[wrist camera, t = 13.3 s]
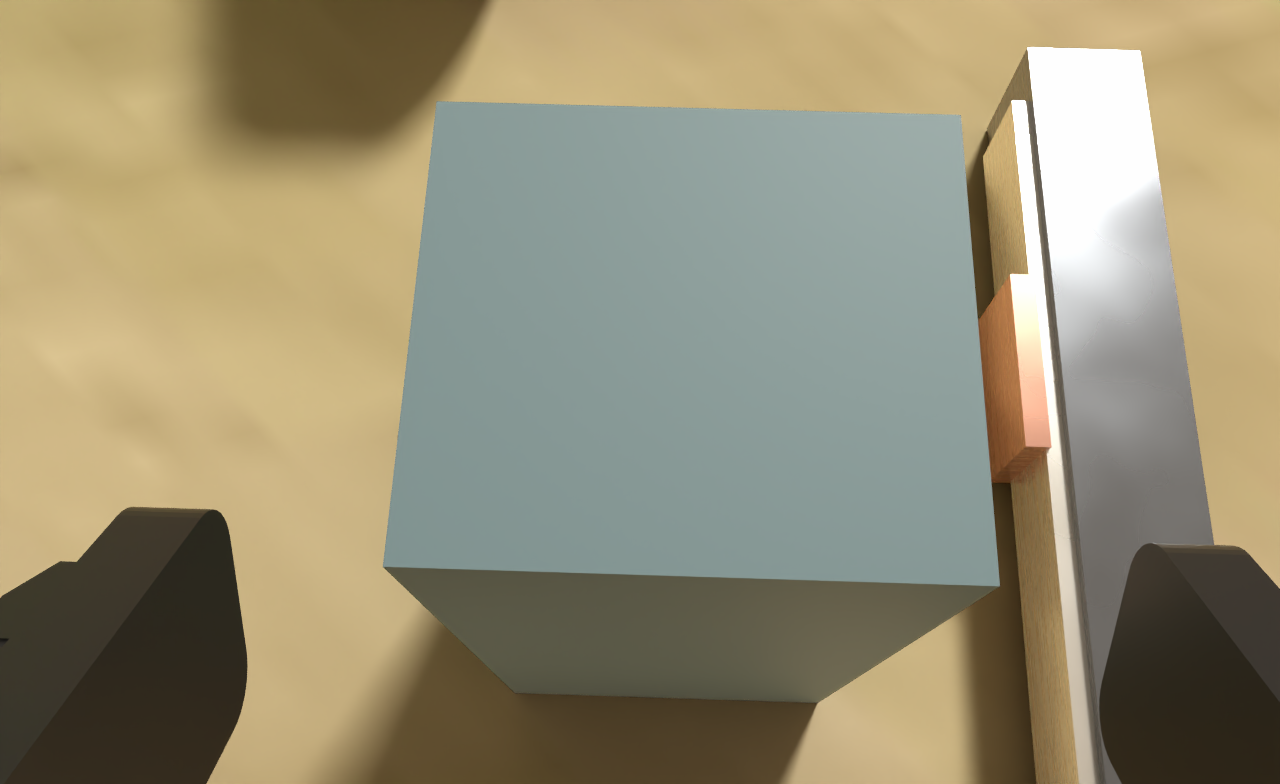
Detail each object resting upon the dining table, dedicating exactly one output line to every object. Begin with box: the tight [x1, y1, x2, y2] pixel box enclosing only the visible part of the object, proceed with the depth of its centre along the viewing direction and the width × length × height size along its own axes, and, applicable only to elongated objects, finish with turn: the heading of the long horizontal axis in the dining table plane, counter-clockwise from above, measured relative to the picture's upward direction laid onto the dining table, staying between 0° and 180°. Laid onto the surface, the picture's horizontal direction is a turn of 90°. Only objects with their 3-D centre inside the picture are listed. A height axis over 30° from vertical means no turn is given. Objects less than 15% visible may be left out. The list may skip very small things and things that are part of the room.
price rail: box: [978, 47, 1214, 784], centre depth 18 cm, size 18×3×2 cm, turn 178°
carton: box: [383, 101, 1000, 703], centre depth 14 cm, size 5×4×10 cm
